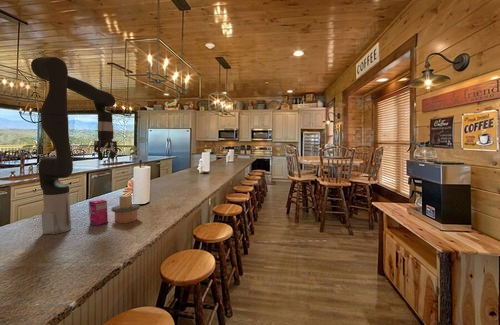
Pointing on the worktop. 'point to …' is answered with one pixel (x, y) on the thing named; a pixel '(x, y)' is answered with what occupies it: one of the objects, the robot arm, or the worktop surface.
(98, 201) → the supplement box
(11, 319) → the worktop surface
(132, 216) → the bowl
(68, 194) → the robot arm
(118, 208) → the lid
